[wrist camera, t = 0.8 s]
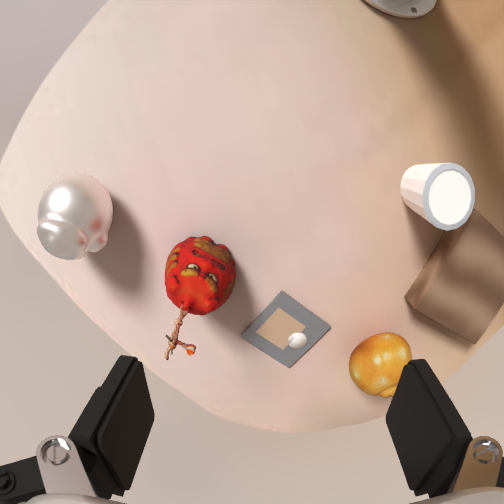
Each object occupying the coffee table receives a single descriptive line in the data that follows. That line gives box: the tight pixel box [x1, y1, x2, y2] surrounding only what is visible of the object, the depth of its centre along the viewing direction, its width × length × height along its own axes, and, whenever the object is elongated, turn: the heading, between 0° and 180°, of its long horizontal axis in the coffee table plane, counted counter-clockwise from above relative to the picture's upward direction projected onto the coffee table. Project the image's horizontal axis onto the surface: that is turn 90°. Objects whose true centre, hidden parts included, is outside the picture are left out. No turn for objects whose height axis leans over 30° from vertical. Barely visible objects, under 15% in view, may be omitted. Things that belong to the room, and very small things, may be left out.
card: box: [241, 291, 331, 367], centre depth 39 cm, size 8×8×1 cm
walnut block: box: [404, 209, 504, 344], centre depth 35 cm, size 14×14×4 cm
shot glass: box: [400, 163, 475, 231], centre depth 30 cm, size 7×7×7 cm
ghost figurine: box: [37, 173, 113, 260], centre depth 30 cm, size 9×10×10 cm
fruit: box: [349, 333, 412, 398], centre depth 36 cm, size 8×8×8 cm
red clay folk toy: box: [164, 236, 236, 360], centre depth 30 cm, size 8×7×15 cm
